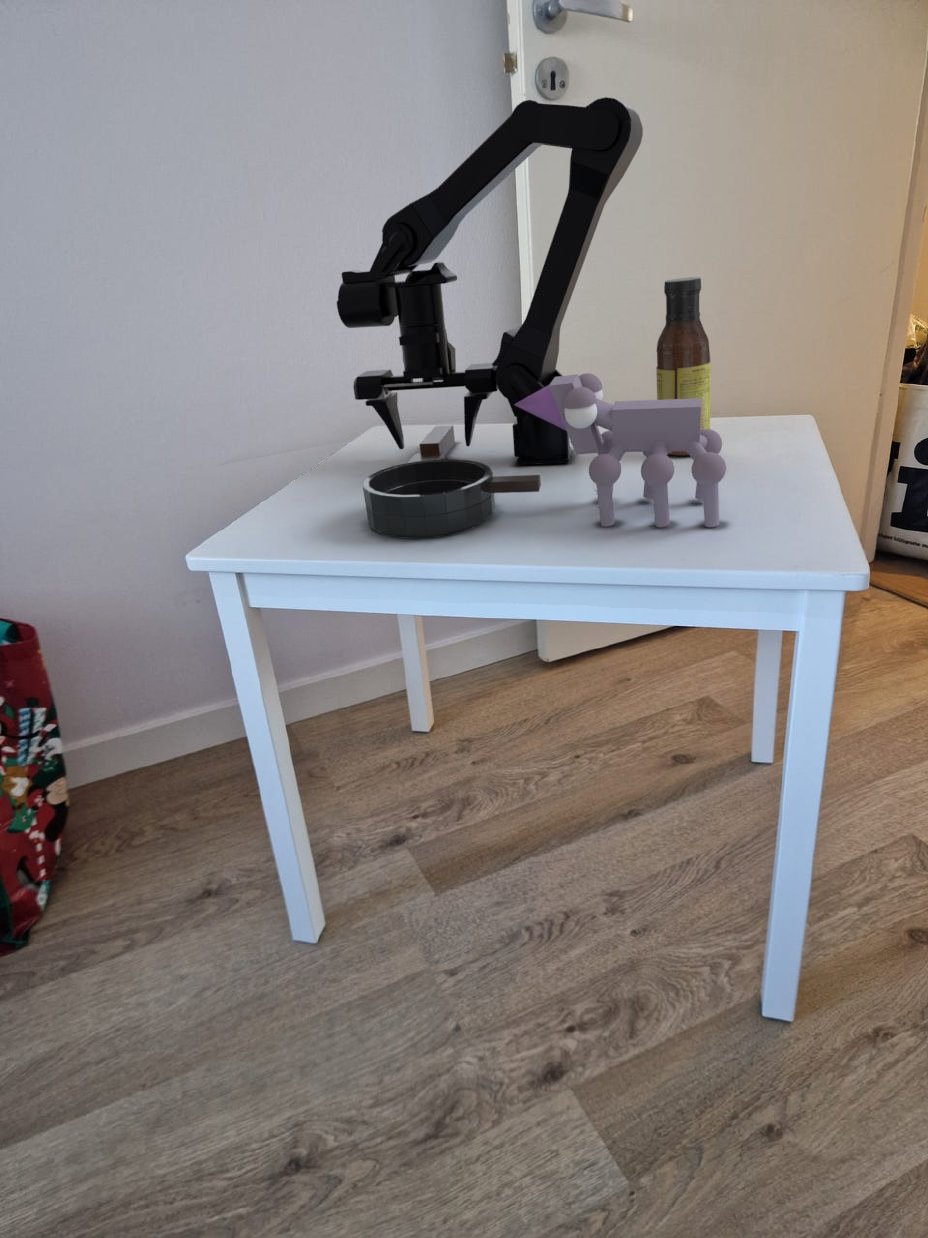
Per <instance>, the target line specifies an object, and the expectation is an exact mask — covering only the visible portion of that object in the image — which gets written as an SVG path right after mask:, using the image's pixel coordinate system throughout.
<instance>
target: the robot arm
mask: <svg viewBox="0 0 928 1238" xmlns="http://www.w3.org/2000/svg"><path fill="white" fill-rule="evenodd" d="M641 121H642V120H641V118H640V115H639V114H638V113H637V111H636V110H635V109H634V108H633V107H631V106H630V105H628V104H626V103H624V102H622V101H621V100H618V99H616V98H613V97H606V96H605V97H602V98H601V97H600V98H597V99H595V100H594V101H592V102H590V103H588V105H586V106H580V105H579V106H577V105H568V104H553V103H543V102H539V101H536V100H532V99H527V100H523V101H522V102H519V103H518V104H517V105H516V106H515V107H514V109H513V110H512V112H511V114H510V115H509V116H508V117H507V118H506V119H505V121H503V122H502V123H501V124H500V125H499V126H498V127H497V128H496V129H495V130H494V131H493V132H492V133H491V134H490V135H489V136H488V137H487V138H486V139H485V140H484V141H483V142H482V143H481V144H480V145H479V146H477V148H476V149H475V150H474V151H473V152H472V153H471V154H470V155H469V156H468V157H467V158H466V159H465V160H464V161H463V162H462V163H461V164H460V165H459V166H458V167H457V168H456V169H455V170H454V171H453V172H452V173H450V174H449V176H448V177H447V178H445V179H444V181H443V182H442V183H441V184H439V186H437V187H436V188H435V189H434V190H432V191H430V192H429V193H428V194H425V195H424V196H422V197H419V198H418V199H416V200H414V201H412V202H410V203H409V204H407V205H406V206H403V208H401V209H400V210H398V211H397V212H395V213H394V214H392V215H391V216H390V217H388V218H387V220H386V221H385V223H384V224H383V226H382V229H381V233H382V234H381V237H382V238H381V242H382V243H381V245H380V247H379V249H378V252H377V254H376V256H375V258H374V260H373V263H372V264H371V266H370V268H369V270H366V271H364V270H358V269H357V270H356V269H355V270H347V271H342V272H341V278H342V283H341V284H340V286H339V288H338V294H337V301H336V309H337V313H338V317H339V319H340V321H341V322H342V324H343V325H344V326H345V327H346V328H347V329H348V328H349V329H359V328H361V329H362V328H376V327H378V328H379V327H390V326H391V325H392V324H393V323H394V322H395V319H396V318H398V326H399V336H398V342H399V346H401V352H402V363H403V369H404V370H403V371H402V374H401V375H394V374H393V371H392V369H378V370H377V369H376V370H366V371H365V372H362V373H361V374H359V375H357V376H356V378H355V379H354V381H353V387H352V388H353V394H354V399H355V400H356V401H362V400H363V401H365V402H364V403H365V406H366V407H372V408H373V409H374V410H375V412H376V413H377V414H378V416H379V417H380V419H381V420H382V421H383V423H384V425H385V426H386V428H387V430H388V431H389V433H390V435H391V436H392V438H393V440H394V442H395V444H396V445H397V448H398V449H399V450H403V449H404V448H405V440H404V433H403V427H402V423H401V417H400V412H399V407H398V392H396V391H407V390H408V391H409V390H410V391H411V390H425V389H426V390H429V389H442V388H444V389H445V388H461V387H462V388H463V387H464V388H465V389H466V390H468V392H467V393H466V394H465V395H464V396H463V409H464V410H463V414H464V415H463V417H464V418H463V419H464V421H463V423H464V440H465V446H466V447H470V446H471V444H472V439H473V435H474V431H475V426H476V422H477V417H478V413H479V411H480V408H481V405H482V402H483V401H484V400H487V399H489V397H490V396H491V395H492V394H493V393H495V392H498V391H499V393H500V394H501V395H502V396H503V397H504V398H506V399H507V401H508V403H509V407H510V409H511V411H512V413H513V416H514V417H515V418H516V420H515V421H514V422H513V424H512V441H513V456H514V457H515V458H517V459H516V465H518V466H521V465H522V466H523V465H548V464H549V465H550V464H551V465H553V464H569V462H570V460H571V459H570V458H571V455H572V446H570V445H571V444H570V443H571V441H570V438H569V436H568V433H567V431H566V430H564V429H562V428H560V427H558V426H556V425H554V424H552V423H550V422H548V421H546V420H544V419H542V418H540V417H538V416H536V415H534V414H532V413H530V412H527V411H525V410H523V409H521V408H519V407H517V406H515V405H514V404H516V403H518V402H519V401H521V400H523V399H525V398H526V397H528V396H530V395H532V394H534V393H535V392H537V391H539V390H541V389H543V388H544V387H546V386H548V385H550V383H551V382H552V381H553V379H554V378H555V377H558V376H563V374H562V373H560V371H558V369H557V364H558V358H559V352H560V336H561V335H560V334H561V327H562V324H563V321H564V318H565V316H566V312H567V310H568V307H569V304H570V301H571V299H572V296H573V294H574V290H575V287H576V285H577V282H578V280H579V277H580V274H581V271H582V269H583V266H584V263H585V260H586V257H587V255H588V252H589V249H590V248H591V247H590V246H591V243H592V241H593V238H594V235H595V233H596V230H597V227H598V224H599V222H600V220H601V217H602V213H603V211H604V208H605V205H606V203H607V202H608V200H609V199H610V197H611V195H612V194H613V192H614V191H615V190H616V188H617V187H618V185H619V184H620V182H621V180H622V179H623V177H624V176H625V175H626V172H627V170H628V169H629V167H630V165H631V163H632V161H633V159H634V158H635V156H636V154H637V152H638V150H639V148H640V146H641V143H642V140H643V135H644V128H643V124H642V122H641ZM542 146H548V147H550V146H551V147H557V148H564V149H571V152H570V158H569V176H568V179H569V180H568V190H567V194H566V198H565V201H564V204H563V207H562V210H561V213H560V216H559V219H558V222H557V224H556V227H555V231H554V234H553V237H552V239H551V242H550V245H549V248H548V251H547V254H546V257H545V260H544V264H543V266H542V269H541V272H540V275H539V278H538V281H537V284H536V287H535V290H534V293H533V296H532V299H531V302H530V304H529V307H528V311H527V313H526V317H525V319H524V320H523V322H522V324H521V325H518V326H515V327H513V328H510V329H508V330H506V331H503V332H502V336H501V340H500V346H499V351H498V354H497V357H496V358H495V360H494V361H493V362H486V363H484V362H483V363H471V364H470V365H469V366H468V367H467V368H465V371H463V370H462V371H457V367H456V366H457V365H456V363H457V361H456V360H457V359H456V358H457V357H456V348H455V347H454V346H453V345H452V343H450V342H449V340H448V339H449V338H448V333H447V328H446V323H445V312H444V303H443V302H444V301H443V292H442V291H443V290H442V285H444V284H449V283H453V282H456V281H457V280H458V275H457V274H455V273H454V272H453V271H452V270H450V269H449V268H448V267H447V266H446V264H445V263H444V261H438V262H434V261H435V260H437V259H438V258H439V256H440V255H441V254H442V253H443V251H444V249H445V248H446V247H447V246H448V244H450V242H451V240H452V239H453V237H454V236H455V234H456V232H457V230H458V228H459V226H460V224H461V223H462V221H463V220H464V219H465V217H466V216H467V215H468V214H469V213H470V212H471V211H472V210H473V209H474V208H475V207H477V205H479V204H480V203H481V202H482V201H483V200H484V199H485V198H486V197H487V196H488V195H489V194H490V193H492V192H493V190H495V188H497V187H498V186H499V185H500V184H501V183H502V182H503V181H504V180H505V179H506V178H507V177H508V176H509V175H510V174H512V173H513V172H514V171H515V170H516V169H517V168H518V167H519V166H521V164H522V163H524V161H525V160H527V158H528V157H530V156H531V155H532V154H533V153H534V152H535V151H536V150H537V149H538V148H540V147H542ZM432 262H433V265H432V266H431V267H430V268H429V269H421V270H415V269H417V268H418V267H419V266H420V265H425V264H430V263H432ZM406 274H407V275H406ZM400 275H406V277H405V280H397V281H396V276H400ZM416 379H417V380H418V379H419V380H420V379H421V380H420V381H414V380H416Z"/></svg>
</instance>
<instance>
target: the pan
mask: <svg viewBox="0 0 928 1238" xmlns="http://www.w3.org/2000/svg"><path fill="white" fill-rule="evenodd" d="M492 477H494V473H493V470H492V468H491V467H490V466H489V465H487V464H485V463H482V462H479V461H474V460H470V459H469V460H468V459H459V458H458V459H457V458H455V459H454V458H445V459H439V460H426V461H418V462H411V463H407V462H406V463H401V464H397V465H393V466H389V467H387V468H386V467H385V468H384V469H380V470H378V471H376V472H374V473H372V474H370V475H368V476H367V477H366V478H365V479H364V480H363V481H362V491H363V497H364V503H365V511H366V517H367V524H368V526H369V527H371V529H373V530H375V531H377V532H380V533H381V534H383V535H386V536H390V537H393V538H400V539H401V538H402V539H430V538H431V539H433V538H440V537H445V536H452V535H456V534H459V533H463V532H466V531H469V530H472V529H474V528H476V527H478V526H479V525H482V524H484V522H486V520H487V519H489V518H490V517H491V516H493V515H494V512H495V511H496V499H495V493H491V490H490V481H491V479H492Z"/></svg>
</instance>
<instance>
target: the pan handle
mask: <svg viewBox="0 0 928 1238" xmlns="http://www.w3.org/2000/svg"><path fill="white" fill-rule="evenodd" d="M541 481H542V480H541V474H527V475H525V474H524V475H497V476H496V475H495V476H494V475H493V477H492V479H491V481H490V490H491V493H494V494H506V493H508V494H510V493H538V492H540V489H541V487H542V484H541V483H542V482H541Z"/></svg>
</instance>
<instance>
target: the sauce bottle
mask: <svg viewBox="0 0 928 1238" xmlns="http://www.w3.org/2000/svg"><path fill="white" fill-rule="evenodd" d="M701 279H702V278H701V277H700V276H692V277H691V276H690V277H680V278H673V279H667V280H665V281H664V289H663V290H664V291H663V292H664V295H665V304H666V305H665V310H666V313H665V325H664V327H663V329H662V331H661V333H660V335H659V337H658V340H657V343H656V368H655V369H656V371H655V372H656V400H667V399H695V398H702V402H701V425H700V430H703V429H711V351H710V340H709V337H708V335H707V333H706V331H705V329H704V327H703V324H702V320H701V318H700V317H701V312H700V294H701V293H700V292H701V290H702V280H701ZM667 455H671V456H676V457H677V456H690V455H689V454H688V452H687V451H670V452H669V453H668V454H667Z"/></svg>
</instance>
